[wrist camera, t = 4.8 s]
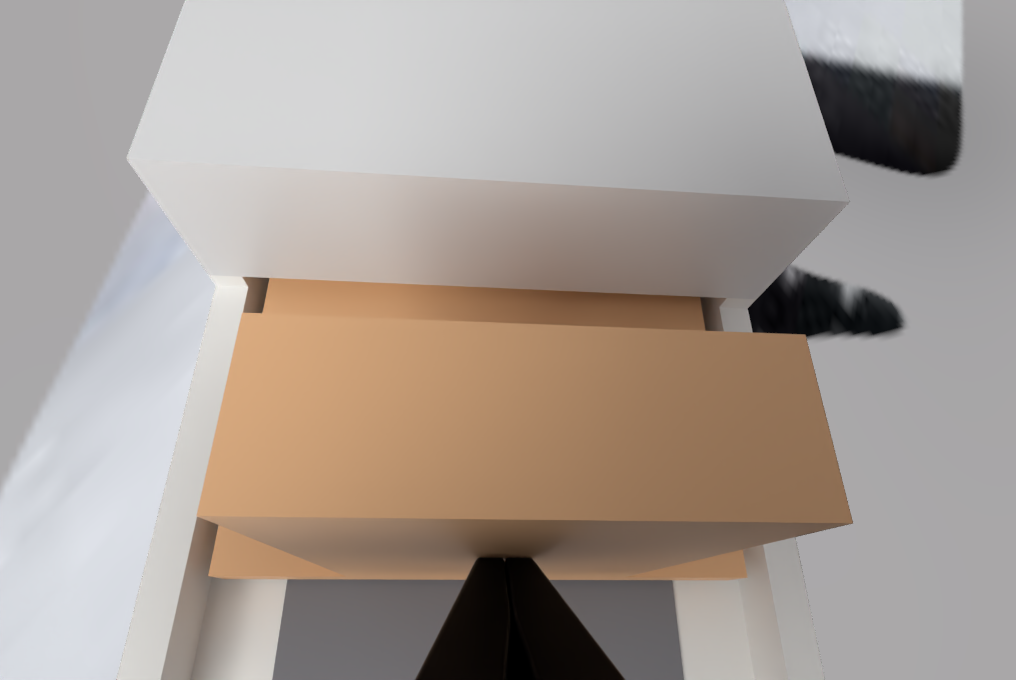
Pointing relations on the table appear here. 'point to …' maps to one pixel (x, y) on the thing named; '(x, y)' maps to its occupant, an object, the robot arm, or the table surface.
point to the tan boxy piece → (510, 436)
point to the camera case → (473, 264)
